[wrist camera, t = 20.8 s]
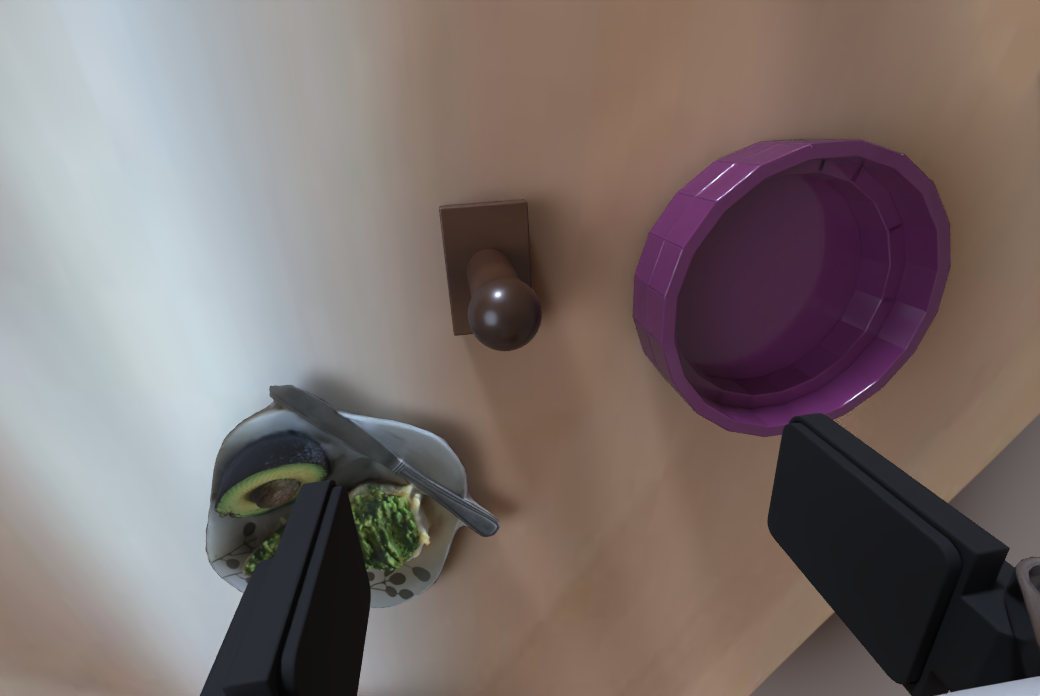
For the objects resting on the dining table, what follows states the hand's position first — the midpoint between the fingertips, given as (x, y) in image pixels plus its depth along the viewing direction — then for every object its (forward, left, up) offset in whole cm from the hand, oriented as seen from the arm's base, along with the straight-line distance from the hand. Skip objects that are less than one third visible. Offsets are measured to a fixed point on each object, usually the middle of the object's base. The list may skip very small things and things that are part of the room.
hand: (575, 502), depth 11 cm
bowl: (+3, +18, -22) cm, 29 cm away
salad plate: (+16, -12, -22) cm, 30 cm away
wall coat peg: (0, 0, -22) cm, 22 cm away
